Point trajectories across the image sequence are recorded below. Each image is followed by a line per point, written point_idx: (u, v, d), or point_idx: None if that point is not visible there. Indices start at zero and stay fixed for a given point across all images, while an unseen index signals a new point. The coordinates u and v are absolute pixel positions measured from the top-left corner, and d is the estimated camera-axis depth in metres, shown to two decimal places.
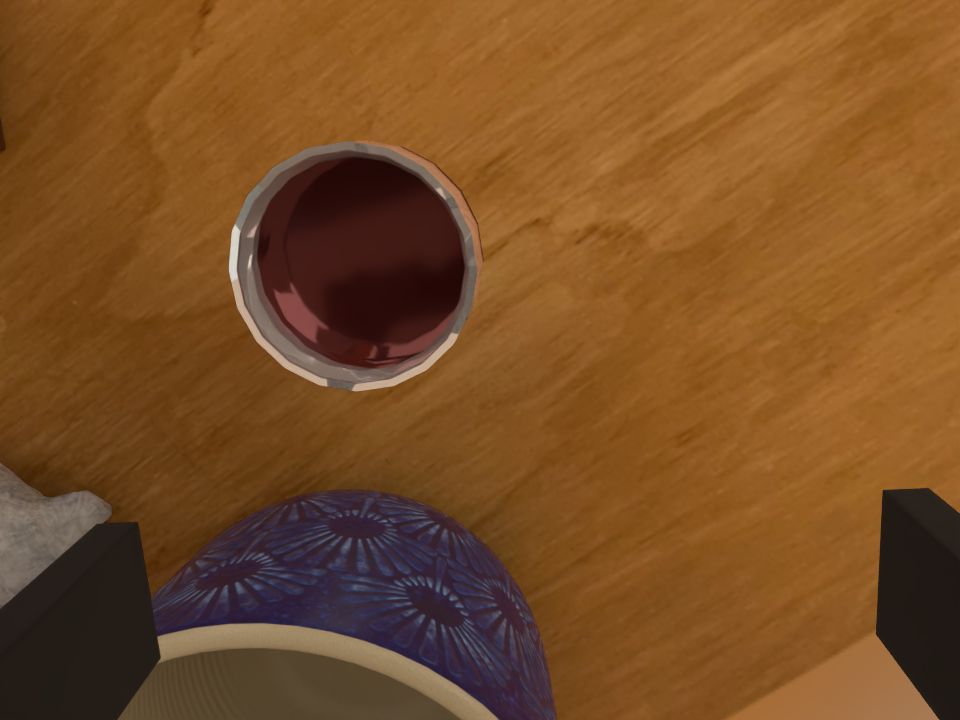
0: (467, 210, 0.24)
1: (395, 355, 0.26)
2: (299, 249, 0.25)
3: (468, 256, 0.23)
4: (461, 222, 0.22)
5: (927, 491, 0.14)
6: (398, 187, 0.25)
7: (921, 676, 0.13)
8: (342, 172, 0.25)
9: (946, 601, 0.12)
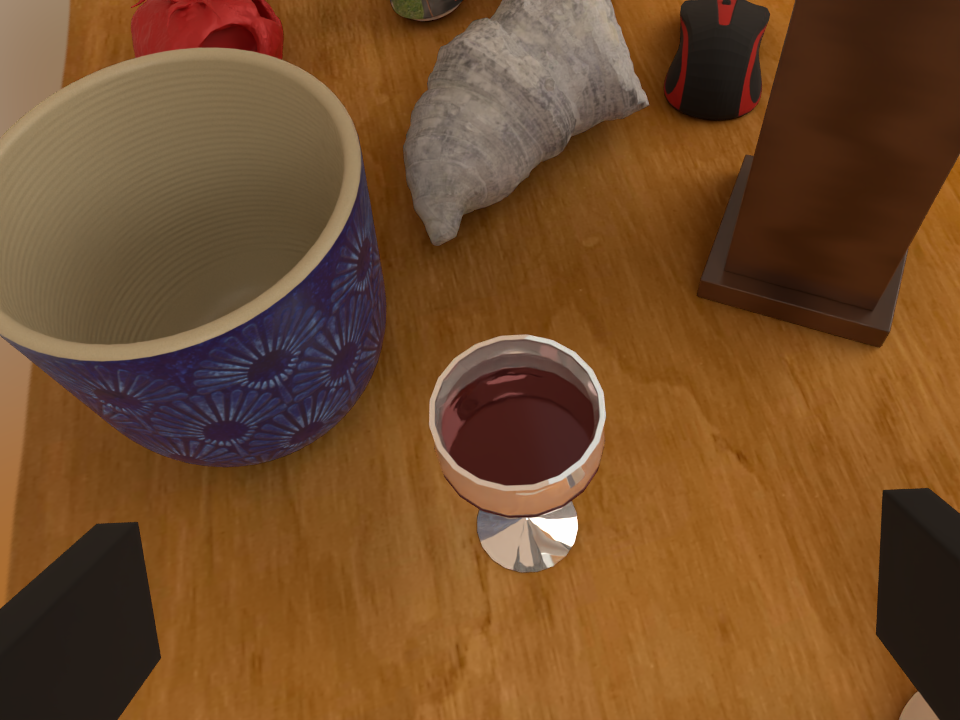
0: (520, 509, 0.32)
1: (446, 426, 0.35)
2: (546, 399, 0.35)
3: (490, 482, 0.31)
4: (514, 487, 0.31)
5: (927, 492, 0.14)
6: None
7: (921, 676, 0.13)
8: (583, 447, 0.34)
9: (946, 601, 0.12)
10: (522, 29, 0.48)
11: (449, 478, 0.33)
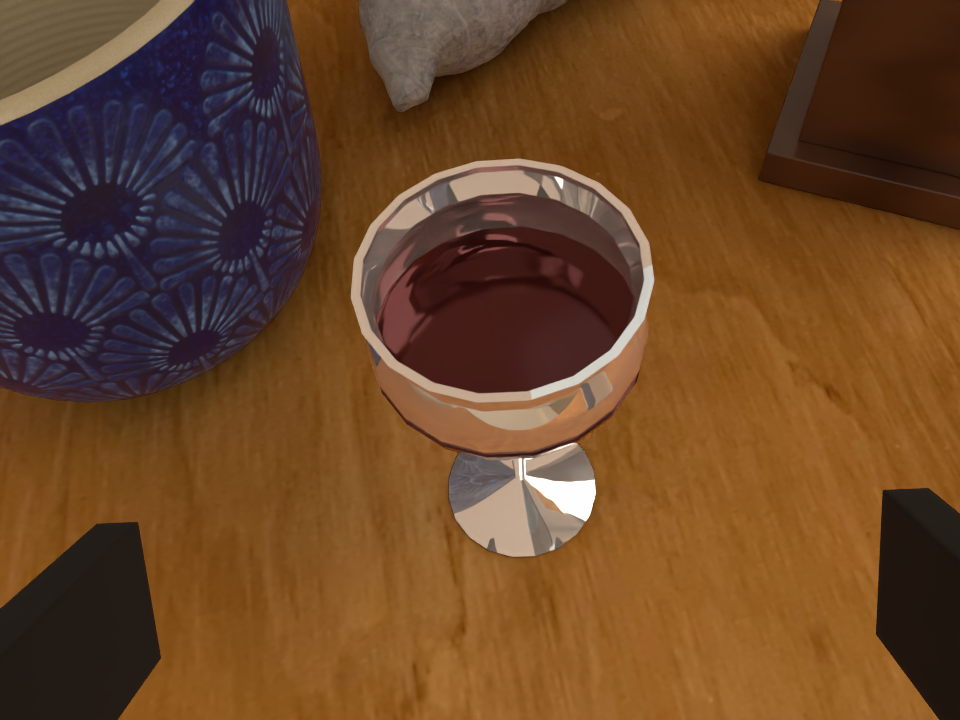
0: (506, 441, 0.19)
1: (389, 315, 0.22)
2: (550, 273, 0.22)
3: (451, 388, 0.17)
4: (493, 396, 0.17)
5: (927, 491, 0.14)
6: None
7: (921, 676, 0.13)
8: (612, 344, 0.21)
9: (946, 601, 0.12)
10: None
11: (387, 391, 0.20)
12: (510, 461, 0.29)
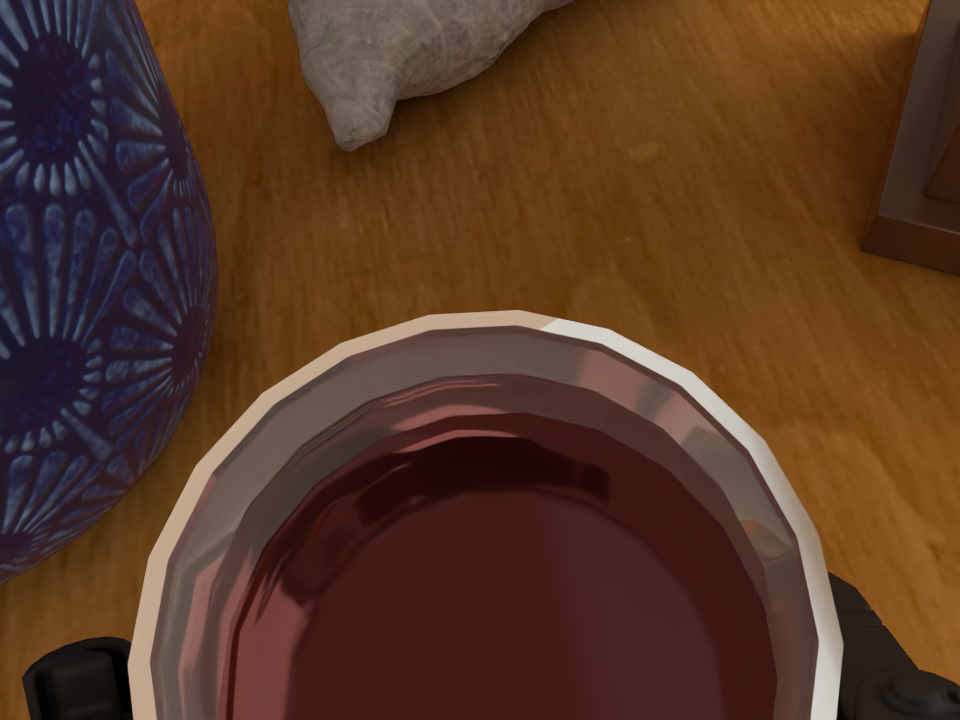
0: None
1: (259, 609, 0.11)
2: (580, 519, 0.11)
3: None
4: None
5: None
6: None
7: None
8: (713, 698, 0.10)
9: None
10: None
11: None
12: None
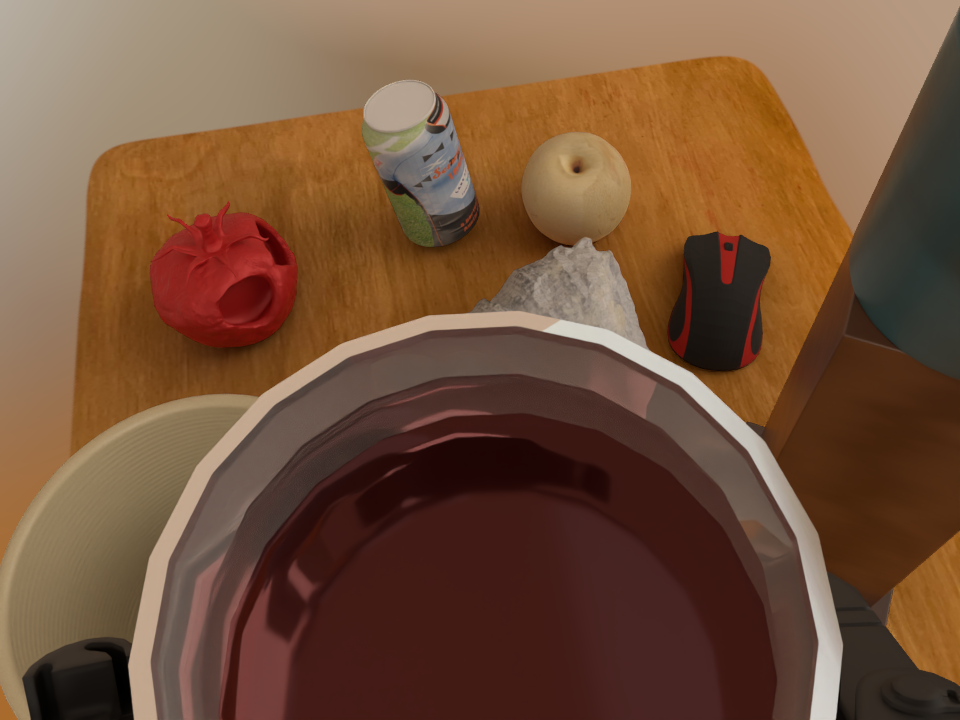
0: None
1: (260, 609, 0.11)
2: (580, 519, 0.11)
3: None
4: None
5: None
6: None
7: None
8: (713, 699, 0.10)
9: None
10: None
11: None
12: None
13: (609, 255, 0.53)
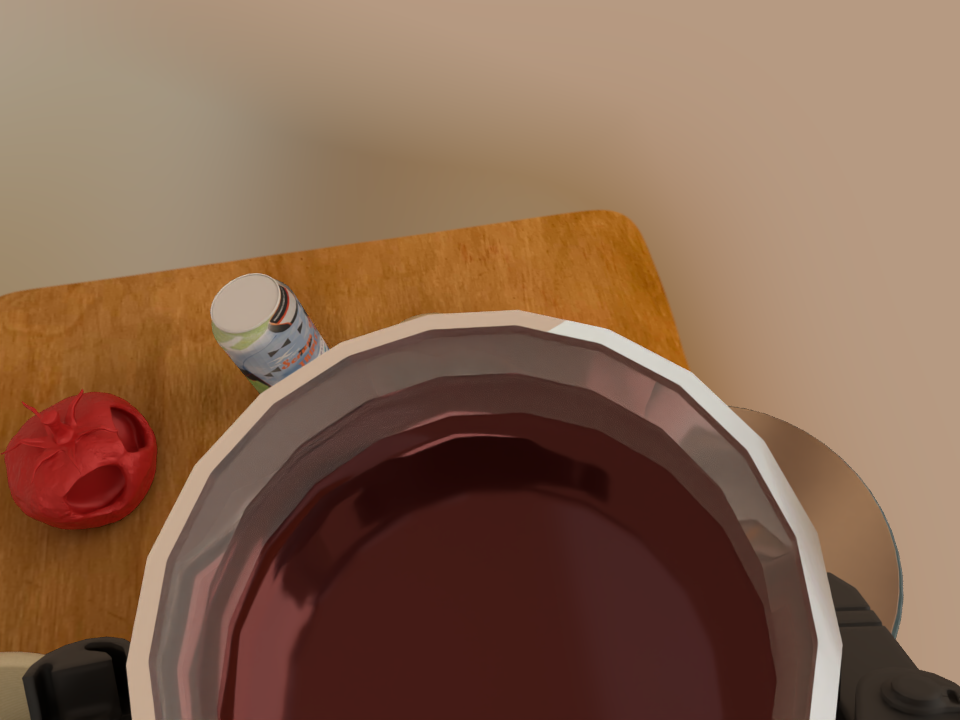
0: None
1: (259, 609, 0.11)
2: (580, 519, 0.11)
3: None
4: None
5: None
6: None
7: None
8: (713, 698, 0.10)
9: None
10: None
11: None
12: None
13: None
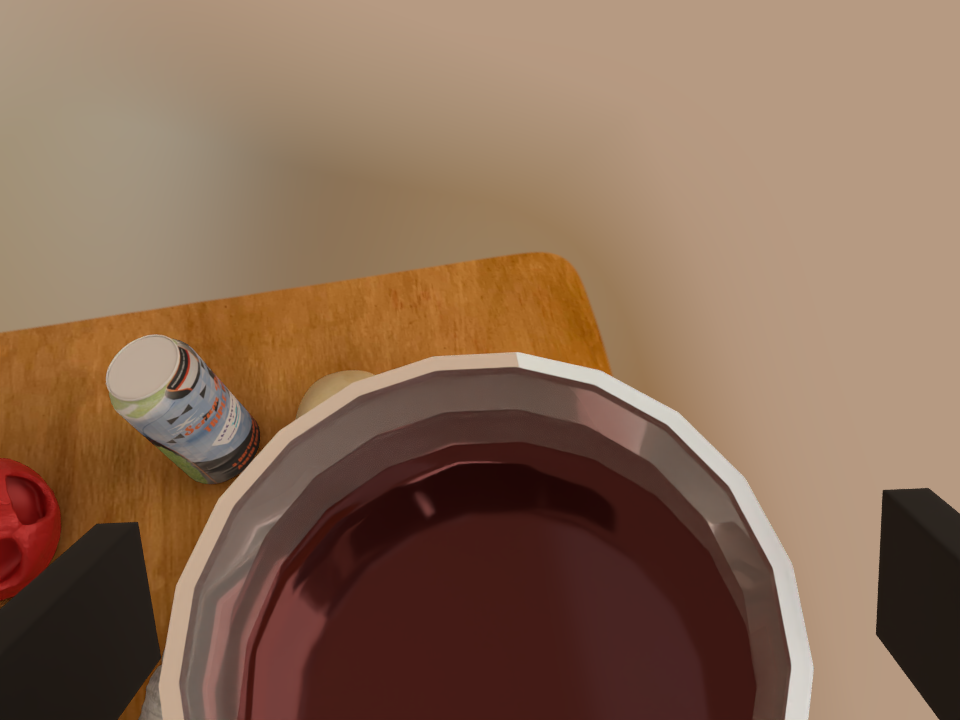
0: None
1: (275, 629, 0.12)
2: (575, 544, 0.12)
3: None
4: None
5: (927, 491, 0.14)
6: None
7: (921, 676, 0.13)
8: (698, 714, 0.11)
9: (947, 601, 0.12)
10: None
11: None
12: None
13: None
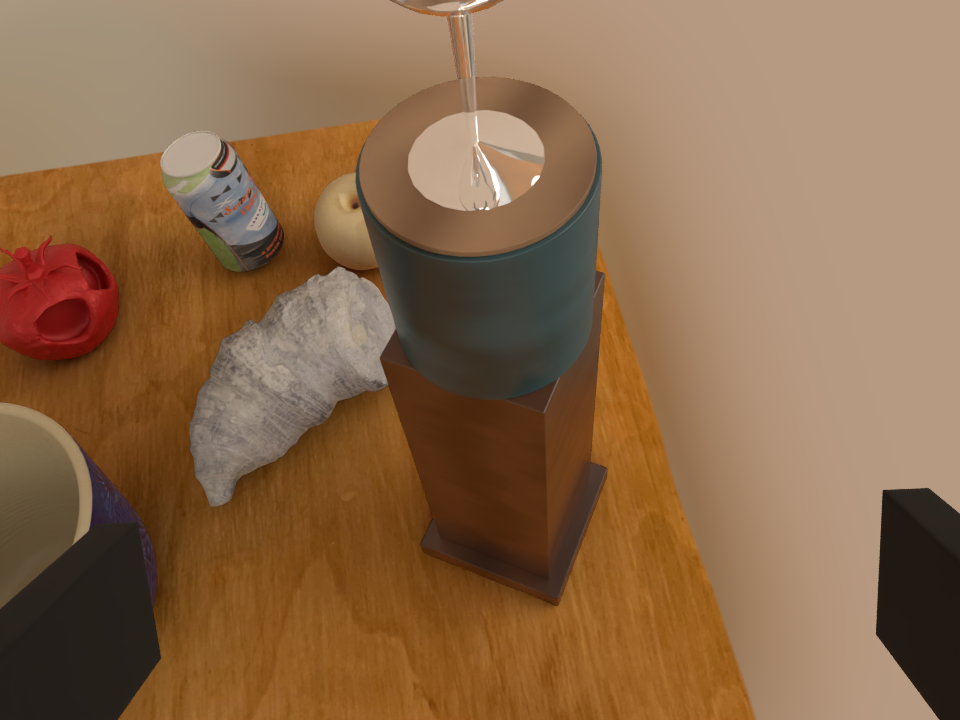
0: None
1: None
2: None
3: None
4: None
5: (927, 491, 0.14)
6: None
7: (921, 676, 0.13)
8: None
9: (947, 601, 0.12)
10: (279, 338, 0.59)
11: None
12: (465, 133, 0.31)
13: (357, 282, 0.62)
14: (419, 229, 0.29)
